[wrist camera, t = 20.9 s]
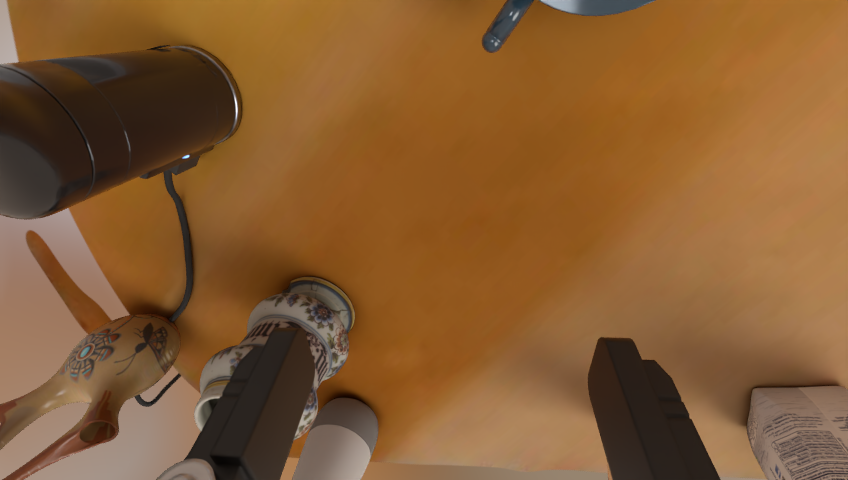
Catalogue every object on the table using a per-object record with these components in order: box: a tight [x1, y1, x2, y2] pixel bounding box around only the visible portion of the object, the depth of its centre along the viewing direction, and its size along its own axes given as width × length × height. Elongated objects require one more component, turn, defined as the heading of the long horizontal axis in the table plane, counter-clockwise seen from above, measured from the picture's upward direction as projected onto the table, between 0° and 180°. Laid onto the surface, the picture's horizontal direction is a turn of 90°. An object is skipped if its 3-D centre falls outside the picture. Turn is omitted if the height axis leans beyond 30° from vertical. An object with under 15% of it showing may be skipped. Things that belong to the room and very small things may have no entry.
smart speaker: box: [292, 398, 378, 480], centre depth 55 cm, size 10×9×14 cm
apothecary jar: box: [194, 277, 355, 440], centre depth 45 cm, size 12×12×18 cm
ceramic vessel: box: [0, 314, 181, 480], centre depth 49 cm, size 16×9×25 cm, turn 95°
